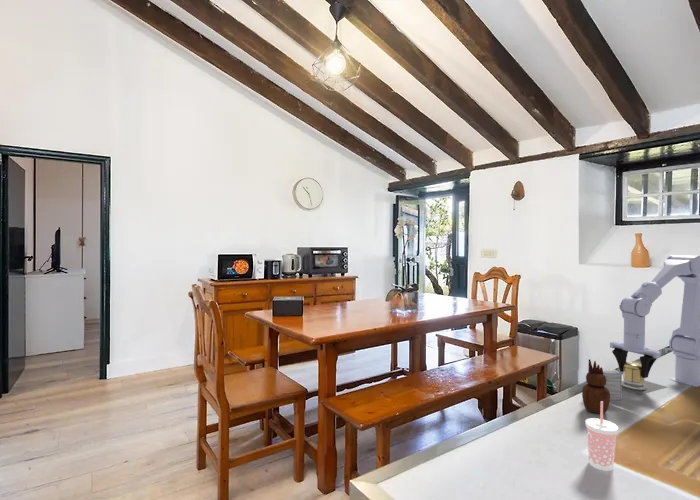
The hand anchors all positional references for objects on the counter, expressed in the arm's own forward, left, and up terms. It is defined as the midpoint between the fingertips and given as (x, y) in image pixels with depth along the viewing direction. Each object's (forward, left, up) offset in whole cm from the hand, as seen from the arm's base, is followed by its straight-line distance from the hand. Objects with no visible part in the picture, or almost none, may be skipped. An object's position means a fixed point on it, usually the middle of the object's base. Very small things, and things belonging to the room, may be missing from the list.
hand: (633, 374), depth 132 cm
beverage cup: (+55, +24, -5) cm, 60 cm away
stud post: (0, 0, -4) cm, 4 cm away
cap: (0, 0, -2) cm, 2 cm away
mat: (-2, 0, -5) cm, 5 cm away
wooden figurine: (+29, +6, -5) cm, 30 cm away
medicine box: (+17, +1, -5) cm, 18 cm away
